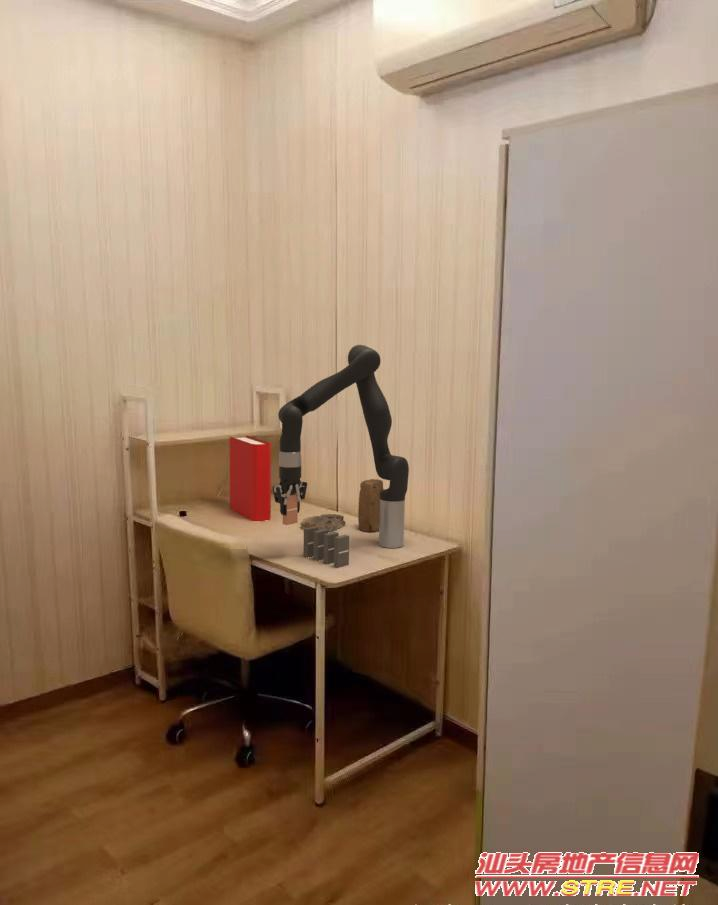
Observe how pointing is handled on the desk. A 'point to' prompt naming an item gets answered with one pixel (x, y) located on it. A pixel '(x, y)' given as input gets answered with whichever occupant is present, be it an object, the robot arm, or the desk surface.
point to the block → (369, 504)
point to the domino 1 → (291, 510)
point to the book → (250, 477)
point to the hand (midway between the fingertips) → (290, 513)
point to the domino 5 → (341, 551)
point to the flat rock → (324, 522)
